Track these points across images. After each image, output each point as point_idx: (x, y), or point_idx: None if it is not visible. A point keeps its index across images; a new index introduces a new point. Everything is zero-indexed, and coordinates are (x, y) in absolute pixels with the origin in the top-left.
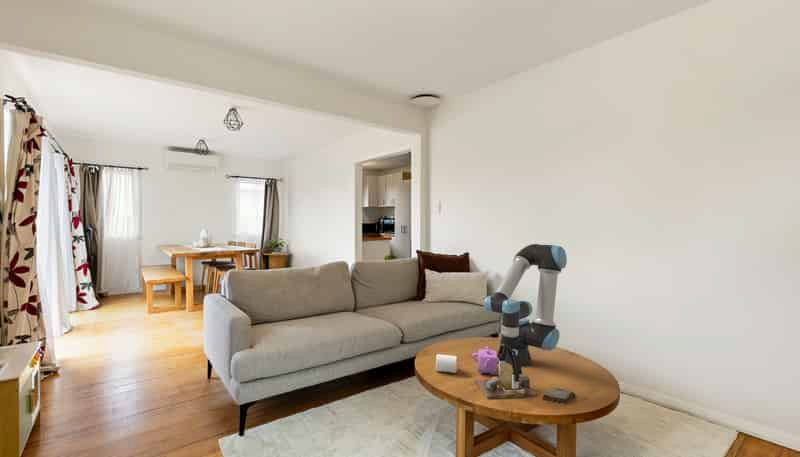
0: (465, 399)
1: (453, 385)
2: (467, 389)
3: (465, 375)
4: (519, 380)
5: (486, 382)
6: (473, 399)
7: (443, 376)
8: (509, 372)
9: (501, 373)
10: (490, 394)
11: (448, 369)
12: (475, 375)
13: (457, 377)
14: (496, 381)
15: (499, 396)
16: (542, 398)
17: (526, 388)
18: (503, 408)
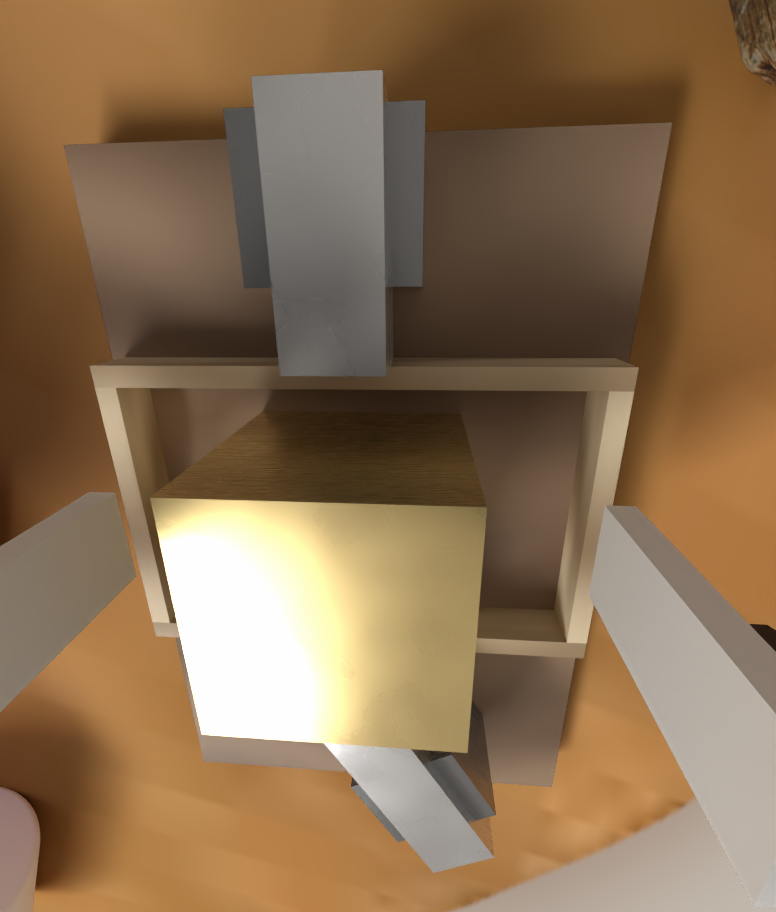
0: (513, 884)
1: (269, 875)
2: (344, 821)
3: (56, 745)
4: (389, 366)
5: (441, 861)
6: (527, 843)
7: (110, 880)
8: (265, 592)
9: (302, 736)
10: (526, 751)
11: (30, 905)
12: None
13: (112, 810)
14: (425, 756)
15: (565, 676)
16: (756, 71)
17: (453, 238)
18: None
